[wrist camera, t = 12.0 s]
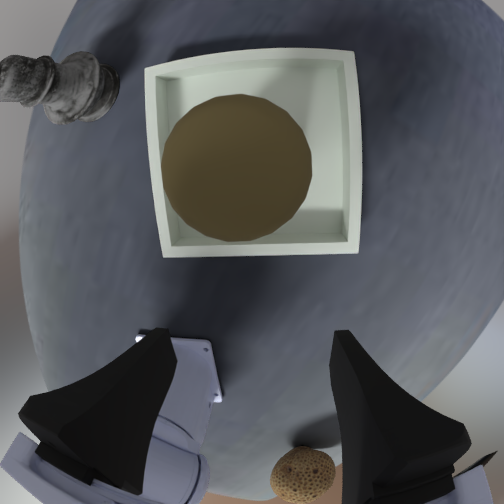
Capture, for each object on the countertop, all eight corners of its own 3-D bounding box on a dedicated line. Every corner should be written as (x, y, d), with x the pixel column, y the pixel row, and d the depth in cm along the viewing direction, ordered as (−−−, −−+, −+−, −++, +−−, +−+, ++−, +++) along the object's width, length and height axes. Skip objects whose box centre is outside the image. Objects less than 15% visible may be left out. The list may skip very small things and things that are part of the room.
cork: (307, 191, 18) (346, 250, 8) (223, 208, 19) (165, 281, 9) (289, 107, 16) (307, 53, 6) (203, 127, 17) (116, 110, 7)
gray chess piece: (128, 108, 17) (13, 90, 6) (73, 136, 18) (-38, 149, 7) (118, 49, 15) (20, 4, 4) (65, 80, 16) (-36, 67, 5)
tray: (349, 241, 20) (358, 253, 17) (174, 245, 21) (163, 257, 19) (345, 61, 15) (353, 51, 12) (158, 75, 16) (144, 68, 14)
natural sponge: (278, 430, 30) (275, 495, 20) (341, 431, 29) (349, 492, 20) (268, 455, 33) (264, 508, 24) (322, 456, 33) (325, 507, 24)
